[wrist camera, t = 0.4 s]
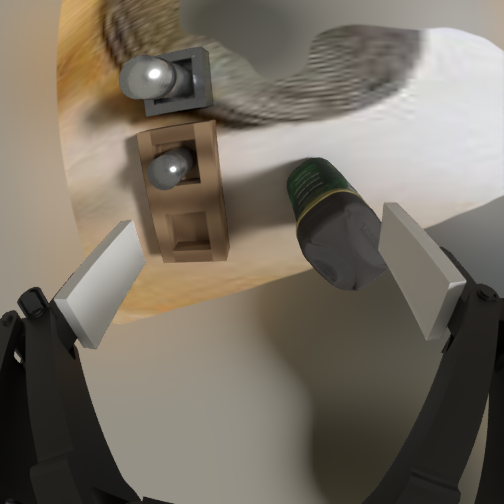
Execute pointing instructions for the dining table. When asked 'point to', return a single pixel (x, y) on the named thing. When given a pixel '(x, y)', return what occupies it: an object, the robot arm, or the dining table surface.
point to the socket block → (202, 91)
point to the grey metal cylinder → (155, 79)
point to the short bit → (171, 167)
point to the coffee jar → (335, 226)
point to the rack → (188, 195)
